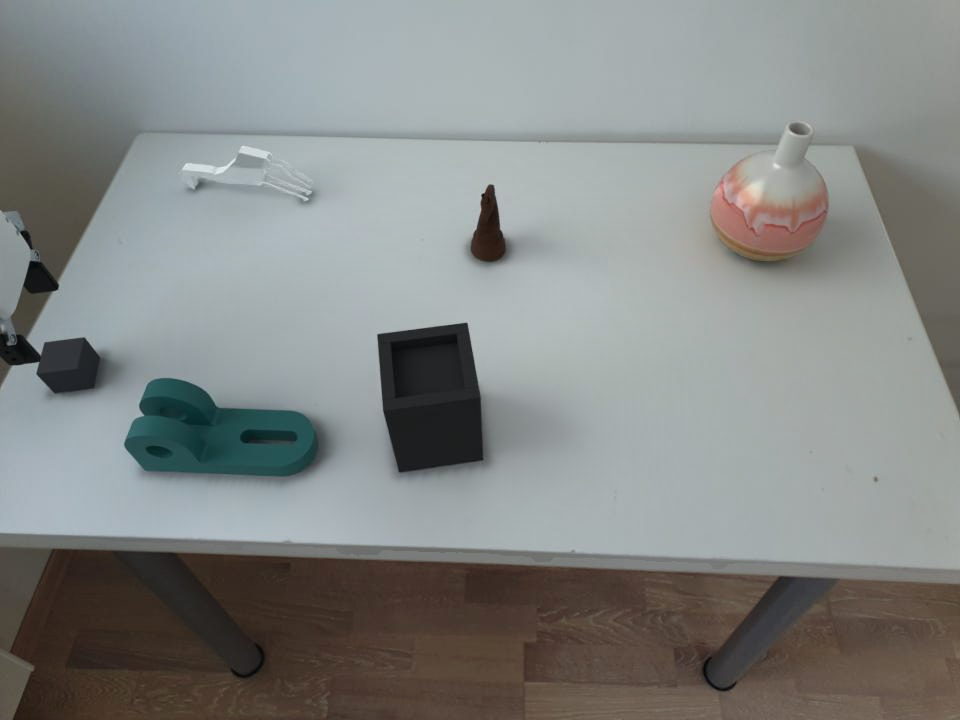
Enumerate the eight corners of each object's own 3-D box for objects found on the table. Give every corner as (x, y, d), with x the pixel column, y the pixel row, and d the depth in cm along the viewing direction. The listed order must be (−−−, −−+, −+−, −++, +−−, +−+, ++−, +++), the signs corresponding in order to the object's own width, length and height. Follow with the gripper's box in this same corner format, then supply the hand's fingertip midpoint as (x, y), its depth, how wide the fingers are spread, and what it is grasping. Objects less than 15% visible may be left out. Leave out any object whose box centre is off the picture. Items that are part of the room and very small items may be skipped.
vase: (701, 275, 90) (740, 162, 75) (699, 201, 97) (734, 87, 83) (814, 286, 88) (875, 173, 74) (802, 210, 96) (856, 95, 82)
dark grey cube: (54, 393, 81) (35, 374, 78) (61, 362, 84) (44, 341, 81) (94, 388, 82) (77, 368, 78) (100, 357, 84) (84, 336, 81)
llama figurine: (304, 223, 105) (183, 176, 102) (317, 170, 96) (185, 116, 93) (300, 232, 104) (178, 184, 101) (313, 179, 95) (179, 124, 92)
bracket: (145, 470, 75) (112, 434, 69) (165, 416, 79) (135, 376, 73) (311, 477, 74) (293, 441, 68) (323, 422, 78) (307, 382, 72)
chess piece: (466, 258, 92) (463, 200, 84) (477, 231, 95) (475, 172, 87) (500, 265, 91) (500, 206, 83) (510, 237, 94) (511, 178, 86)
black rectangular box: (399, 472, 75) (383, 411, 64) (392, 401, 80) (376, 333, 70) (483, 460, 75) (480, 397, 65) (471, 390, 80) (467, 321, 70)
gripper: (-84, 145, 66) (17, 269, 80) (-150, 284, 56) (-21, 397, 70) (-1, 136, 67) (85, 261, 81) (-52, 273, 57) (56, 387, 71)
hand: (36, 324), depth 76 cm, fingers open, 9 cm apart
